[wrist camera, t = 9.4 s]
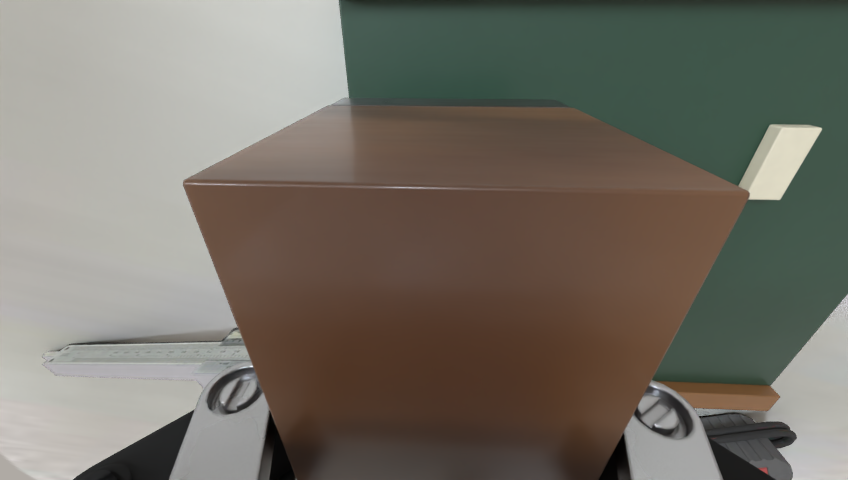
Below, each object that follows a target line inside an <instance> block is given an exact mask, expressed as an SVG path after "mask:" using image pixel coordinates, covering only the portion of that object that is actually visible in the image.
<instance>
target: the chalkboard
mask: <svg viewBox="0 0 848 480" xmlns="http://www.w3.org/2000/svg"><path fill="white" fill-rule="evenodd" d="M339 6H340V16H341V25H342V35H343V44H344V54H345V63H346V73H347V82H348V91H349V98H427V99H544V100H557V101H559V102H561V103H563V104H565V105H567V106H569V107H571V108H575V109H577V110H579V111H582V112H584V113H586V114H588V115H590V116H592V117H594V118H596V119H598V120H600V121H603V122H605V123H607V124H609V125H611V126H613V127H615V128H617V129H619V130H621V131H623V132H626V133H628V134H630V135H632V136H634V137H636V138H638V139H640V140H642V141H644V142H646V143H649V144H651V145H653V146H655V147H657V148H659V149H661V150H663V151H665V152H667V153H670V154H672V155H674V156H676V157H678V158H680V159H682V160H684V161H686V162H688V163H690V164H693V165H695V166H697V167H699V168H701V169H703V170H705V171H707V172H709V173H711V174H713V175H716V176H718V177H720V178H722V179H724V180H726V181H728V182H730V183H732V184H734V185H737V186H738V185H739V183H740V181H741V180H742V178H743V176H744V174H745V172H746V170H747V168H748V166H749V164H750V162H751V160H752V158H753V156H754V154H755V152H756V150H757V148H758V146H759V145H760V143H761V141H762V139H763V137H764V135H765V133H766V131H767V129H768V127H769V125H772V124H786V125H812V126H816V127H821V128H822V130H821V132H820V134H819V135H818V137H817V139H816V141H815V142H814V144H813V146H812V147H811V149H810V151H809V152H808V154H807V156H806V157H805V159H804V161H803V162H802V164H801V166H800V167H799V169H798V171H797V172H796V174H795V176H794V177H793V179H792V181H791V182H790V184H789V186H788V187H787V189H786V191H785V192H784V194H783V196H782V198H781V199H780V200H749V199H748V201H747V203H746V204H745V206H744V208H743V210H742V212H741V214H740V216H739V218H738V219H737V221H736V223H735V225H734V227H733V229H732V231H731V232H730V234H729V236H728V238H727V240H726V242H725V244H724V246H723V247H722V249H721V251H720V253H719V255H718V257H717V259H716V261H715V262H714V264H713V266H712V268H711V270H710V272H709V274H708V276H707V277H706V279H705V281H704V283H703V285H702V287H701V289H700V291H699V292H698V294H697V296H696V298H695V300H694V302H693V304H692V305H691V307H690V309H689V311H688V313H687V315H686V317H685V319H684V320H683V322H682V324H681V326H680V328H679V330H678V332H677V334H676V335H675V337H674V339H673V341H672V343H671V345H670V347H669V349H668V350H667V352H666V354H665V356H664V358H663V360H662V362H661V364H660V365H659V367H658V369H657V371H656V373H655V375H654V377H653V379H652V380H653V381H656V382H659V383H661V384H664V385H665V386H667V387H669V388H671V389H673V390H674V391H676V392H677V393H678V394H680V395H681V396H682V397H683V398H685V399H686V400H687V401H688V402H689V404H690V405H691V406H692V407H693V408H708V409H732V410H756V411H768V410H769V409H770V408H771V407H772V406H773V405H774V404H775V402H776V401H777V400H778V399H779V398H780V396H779V395H778V394H777V393H776V392H775V391H774V390H773V389H772V388H771V387H770V385H771V384H772V383H773V382H774V381H775V380H776V378H777V377H778V376H779V375H780V374H781V372H782V371H783V370H784V369H785V368H786V367H787V365H788V364H789V363H790V362H791V361H792V359H793V358H794V357H795V356H796V355H797V353H798V352H799V351H800V350H801V349H802V348H803V346H804V345H805V344H806V343H807V342H808V340H809V339H810V338H811V337H812V336H813V334H814V333H815V332H816V331H817V330H818V329H819V327H820V326H821V325H822V324H823V323H824V321H825V320H826V319H827V318H828V317H829V315H830V314H831V313H832V312H833V311H834V309H835V308H836V307H837V306H838V305H839V304H840V302H841V301H842V300H843V299H844V298H845V296H846V295H847V294H848V0H339Z"/></svg>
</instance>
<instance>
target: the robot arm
mask: <svg viewBox="0 0 848 480" xmlns="http://www.w3.org/2000/svg"><path fill="white" fill-rule="evenodd" d="M73 480H297V479H296V477H295V474H294V472H293V469H292V466H291V464H290V461H289V459H288V456H287V453H286V451H285V448H284V446H283V443H282V440H281V438H280V435H279V433H278V430H277V428H276V425H275V422H274V420H273V417H272V415H271V412H270V409H269V407H268V404H267V402H266V399H265V396H264V394H263V391H262V389H261V386H260V383H259V381H258V378H257V376H256V373H255V370H254V368H253V365H252V363H251V361H249V362H243V363H239V364H236V365H233V366H231V367H229V368H227V369H225V370H223V371H222V372H220V373H219V374H218V375H216V376H215V377H214V378H213V379H212V380H211V381H210V382H209V383H208V384H207V385H206V386H205V388H204V389H203V391H202V393H201V395H200V397H199V400H198V402H197V405H196V408H195V410H193V411H191V412H190V413H188V414H186V415H184V416H182V417H180V418H179V419H177V420H175V421H173V422H171V423H170V424H168V425H166V426H164V427H162V428H161V429H159V430H157V431H155V432H153V433H152V434H150V435H148V436H146V437H144V438H143V439H141V440H139V441H137V442H135V443H134V444H132V445H130V446H128V447H126V448H125V449H123V450H121V451H119V452H117V453H116V454H114V455H112V456H110V457H108V458H107V459H105V460H103V461H101V462H99V463H98V464H96V465H94V466H92V467H91V468H89V469H88V470H86V471H85V472H83V473H81V474H80V475H78V476H77V477H76V478H74V479H73ZM599 480H776V479H774V478H773V477H771V476H770V475H768V474H766V473H765V472H763V471H762V470H760V469H758V468H757V467H755V466H754V465H752V464H750V463H749V462H747V461H745V460H744V459H742V458H741V457H739V456H737V455H736V454H734V453H733V452H731V451H729V450H728V449H726V448H725V447H723V446H721V445H720V444H718V443H717V442H715V441H713V440H712V439H710V438H708V437H707V435H706V432H705V430H704V427H703V424H702V422H701V420H700V418H699V416H698V414H697V412H696V411H695V409H694V408H693V407H692V406H691V405H690V404H689V402H688V401H687V400H686V399H685V398H683V397H682V396H681V395H680V394H678V393H677V392H676V391H674V390H673V389H671V388H669V387H667V386H665V385H664V384H661V383H659V382H656V381H653V380H651V382H650V384H649V386H648V388H647V390H646V392H645V393H644V395H643V397H642V399H641V401H640V403H639V405H638V407H637V408H636V410H635V412H634V414H633V416H632V418H631V420H630V422H629V423H628V425H627V427H626V429H625V431H624V433H623V435H622V437H621V438H620V440H619V442H618V444H617V446H616V448H615V450H614V452H613V453H612V455H611V457H610V459H609V461H608V463H607V465H606V466H605V468H604V470H603V472H602V474H601V476H600V478H599Z"/></svg>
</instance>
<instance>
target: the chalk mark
mask: <svg viewBox="0 0 848 480" xmlns="http://www.w3.org/2000/svg"><path fill="white" fill-rule="evenodd" d="M821 130H822V128H821V127H816V126H812V125H786V124H772V125H769V127H768V129H767V131H766V133H765V135H764V137H763V139H762V141H761V143H760V145H759V146H758V148H757V150H756V152H755V154H754V156H753V158H752V160H751V162H750V164H749V166H748V168H747V170H746V172H745V174H744V176H743V178H742V180H741V181H740V183H739V185H738V186H739V187H741V188H743V189H745V190H747V191H749V193H750V197H749V200H780V199H781V198H782V196H783V194H784V192H785V191H786V189H787V187H788V186H789V184H790V182H791V181H792V179H793V177H794V176H795V174H796V172H797V171H798V169H799V167H800V166H801V164H802V162H803V161H804V159H805V157H806V156H807V154H808V152H809V151H810V149H811V147H812V146H813V144H814V142H815V141H816V139H817V137H818V135H819V134H820V132H821Z"/></svg>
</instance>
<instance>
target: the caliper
mask: <svg viewBox="0 0 848 480" xmlns="http://www.w3.org/2000/svg"><path fill="white" fill-rule="evenodd" d="M42 357H43V358H44V359H45V360H46V362H45V363H43V364H42V365H43V366H45V367H46V368H47V369H48V370H50V371H51V372H52V373H54V374H55V375H56V376H77V377H103V378H135V379H166V380H196V381H197V382H198V383H199V384H200V385H201V386H202V387H203V388H205V386H206V385H207V384H208V383H209V382H210V381H211V380H212V379H213V378H214V377H215V376H216V375H218V374H219V373H220V372H222V371H223V370H225V369H227V368H229V367H231V366H233V365H236V364H239V363H243V362H249V361H251V360H250V357H249V355H248V352H247V350H246V347H245V344H244V342H243V339H242V337H241V334H240V331H239V329H238V328H235V329H233V330H232V331H231V332H230V333H229V334H228V335H227V336H226V337H225V338H224V339H223V340H222V341H200V342H160V343H101V344H69V345H68V346H66V347H65V348H63V349H62V350H61V351H48V352H45V353H44V354H43V356H42Z"/></svg>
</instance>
